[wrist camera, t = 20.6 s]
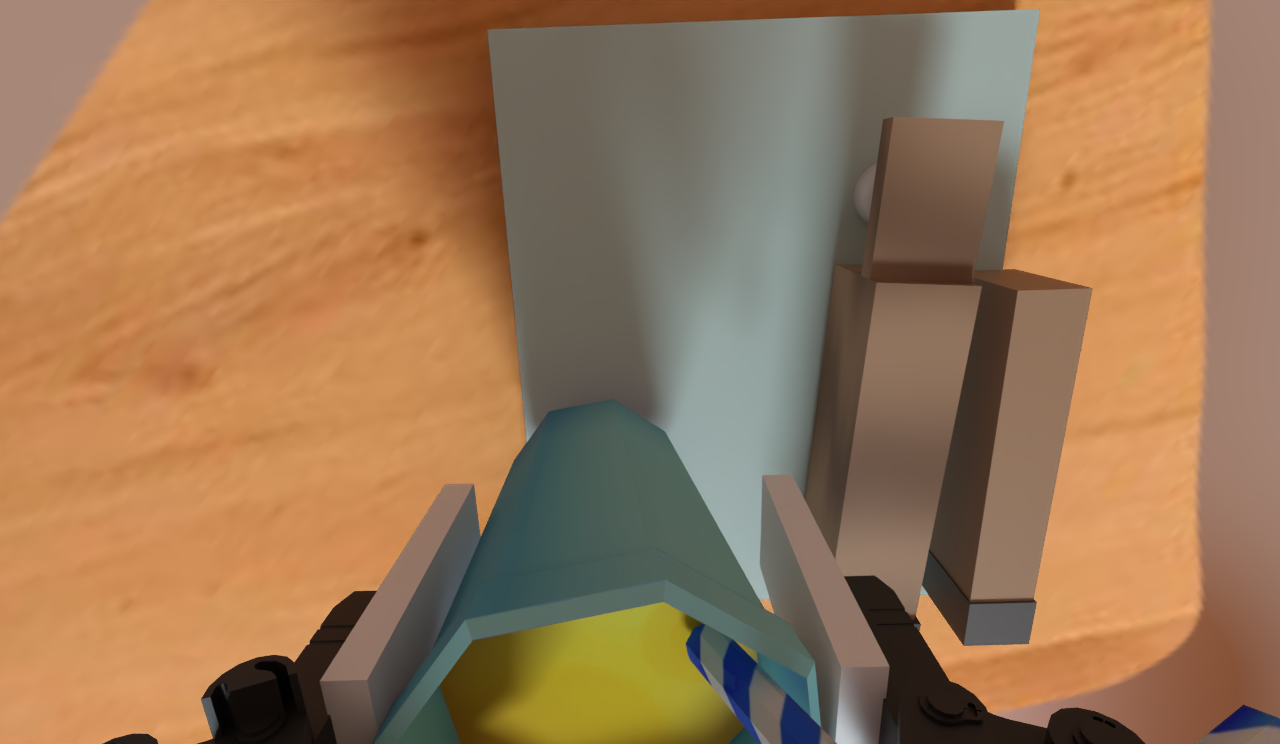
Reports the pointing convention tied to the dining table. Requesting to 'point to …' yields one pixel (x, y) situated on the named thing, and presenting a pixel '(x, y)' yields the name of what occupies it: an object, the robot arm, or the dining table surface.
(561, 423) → the cup
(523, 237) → the stool seat
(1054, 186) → the dining table surface
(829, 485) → the leg
